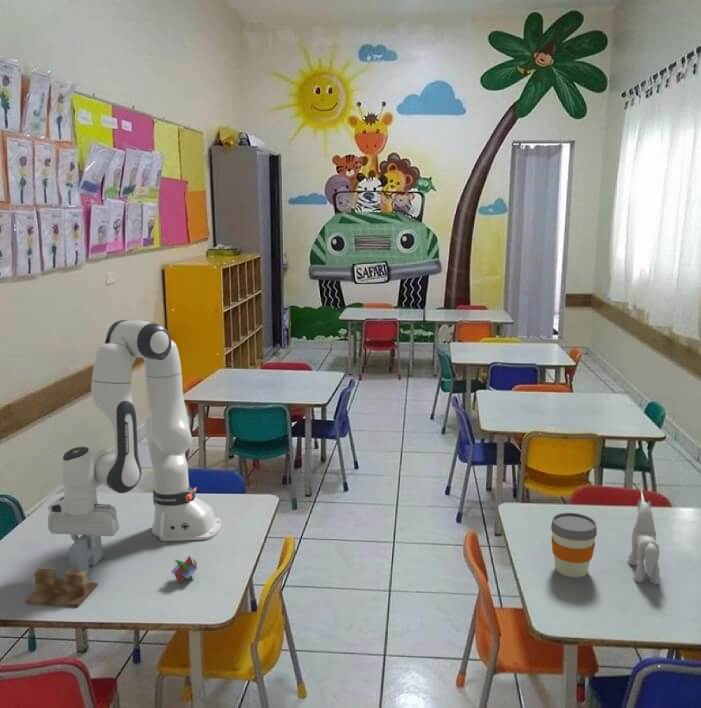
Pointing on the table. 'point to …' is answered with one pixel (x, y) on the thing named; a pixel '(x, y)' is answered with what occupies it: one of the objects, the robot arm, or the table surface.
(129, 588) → the table surface
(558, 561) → the reusable coffee cup
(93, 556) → the slotted plate
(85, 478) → the robot arm
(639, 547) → the unicorn
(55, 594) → the jig
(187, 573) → the geometric puzzle
